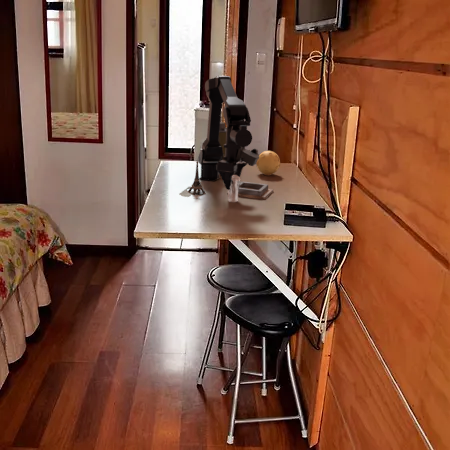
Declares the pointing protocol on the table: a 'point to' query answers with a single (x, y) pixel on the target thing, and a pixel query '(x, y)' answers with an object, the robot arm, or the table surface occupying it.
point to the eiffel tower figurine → (194, 187)
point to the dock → (254, 190)
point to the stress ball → (268, 162)
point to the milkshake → (234, 189)
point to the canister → (222, 136)
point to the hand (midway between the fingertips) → (232, 186)
